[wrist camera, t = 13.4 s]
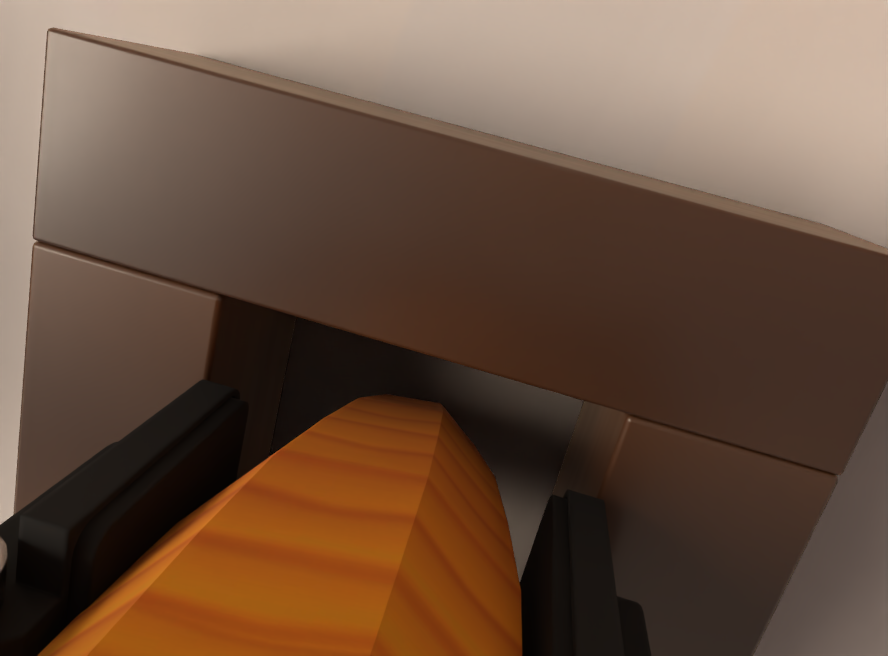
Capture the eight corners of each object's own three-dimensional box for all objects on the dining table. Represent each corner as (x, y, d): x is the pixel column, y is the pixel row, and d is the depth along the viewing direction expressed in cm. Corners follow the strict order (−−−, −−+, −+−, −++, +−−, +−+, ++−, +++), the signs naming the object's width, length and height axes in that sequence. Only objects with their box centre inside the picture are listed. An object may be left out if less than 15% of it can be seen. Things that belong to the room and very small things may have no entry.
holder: (189, 52, 13) (45, 25, 9) (825, 224, 13) (944, 270, 9) (121, 573, 17) (-3, 704, 13) (609, 731, 16) (627, 918, 12)
